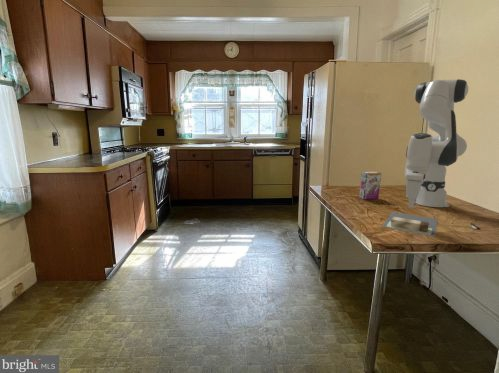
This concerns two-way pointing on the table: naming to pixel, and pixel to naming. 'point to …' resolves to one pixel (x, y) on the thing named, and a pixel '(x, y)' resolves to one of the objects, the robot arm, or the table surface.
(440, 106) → the robot arm
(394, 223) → the beige rectangular block
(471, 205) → the table surface
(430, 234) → the rubber mat
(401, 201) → the table surface
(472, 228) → the chocolate bar
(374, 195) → the candy bar box
